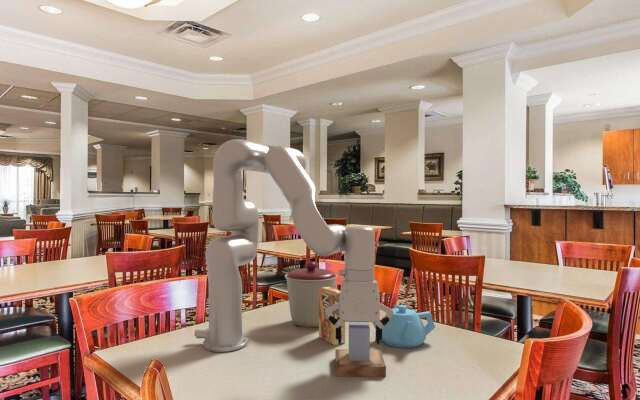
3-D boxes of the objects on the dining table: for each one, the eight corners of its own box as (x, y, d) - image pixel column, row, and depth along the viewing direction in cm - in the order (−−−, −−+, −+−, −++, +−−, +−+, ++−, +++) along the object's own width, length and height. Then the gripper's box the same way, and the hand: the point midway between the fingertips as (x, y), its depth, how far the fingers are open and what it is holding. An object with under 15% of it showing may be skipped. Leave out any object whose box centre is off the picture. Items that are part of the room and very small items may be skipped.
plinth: (335, 376, 101) (336, 365, 101) (335, 358, 112) (335, 348, 112) (385, 376, 101) (385, 365, 101) (380, 359, 112) (380, 349, 112)
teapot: (409, 355, 115) (410, 316, 115) (366, 341, 126) (366, 305, 126) (437, 341, 126) (437, 305, 126) (395, 330, 137) (395, 297, 137)
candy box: (346, 343, 124) (346, 291, 124) (334, 345, 122) (334, 293, 122) (329, 335, 131) (329, 286, 131) (317, 337, 129) (317, 287, 129)
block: (349, 360, 104) (349, 328, 104) (348, 353, 109) (348, 322, 109) (369, 360, 104) (369, 328, 104) (367, 353, 109) (368, 322, 109)
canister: (274, 322, 144) (274, 261, 144) (313, 312, 157) (313, 256, 156) (308, 335, 131) (308, 268, 131) (348, 323, 143) (348, 262, 143)
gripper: (325, 277, 103) (324, 347, 103) (395, 278, 102) (394, 348, 103) (325, 272, 110) (324, 336, 110) (391, 273, 110) (390, 338, 110)
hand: (358, 342), depth 107 cm, fingers open, 9 cm apart
